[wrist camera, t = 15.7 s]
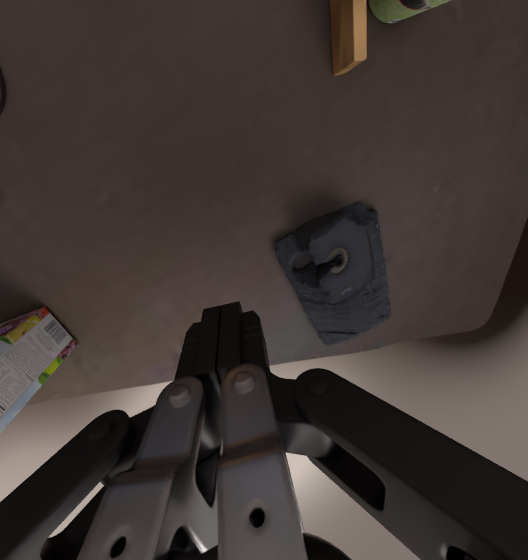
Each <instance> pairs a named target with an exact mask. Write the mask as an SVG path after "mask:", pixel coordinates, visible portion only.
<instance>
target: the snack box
mask: <svg viewBox="0 0 528 560" xmlns="http://www.w3.org/2000/svg"><path fill="white" fill-rule="evenodd" d="M77 344H78V343H77V342H76V341H75V340H74V339H73V338H72V337H71V336H70V335H69V334H68V333H67V332H66V330H65V329H64V328H63V327H62V326H61V325H60V323H59V322H58V321H57V320H56V319H55V318H54V316H53V315H52V314H51V313H50V312H49V311H48V310H47V309H46V308H45V307H41V308H38V309H36V310H33V311H31V312H28V313H26V314H23V315H21V316H18V317H16V318H13V319H11V320H8V321H6V322H3V323H1V324H0V433H1V432H2V431H3V430H4V429H5V428H6V426H7V425H8V424H9V423H10V422H11V421H12V419H13V418H14V417H15V416H16V415H17V413H18V412H19V411H20V410H21V409H22V408H23V407H24V405H25V404H26V403H27V402H28V401H29V400H30V399H31V397H32V396H33V395H34V394H35V393H36V392H37V391H38V389H39V388H40V387H41V386H42V385H43V384H44V382H45V381H46V380H47V379H48V378H49V377H50V375H51V374H52V373H53V372H54V371H55V370H56V369H57V367H58V366H59V365H60V364H61V363H62V361H63V360H64V359H65V358H66V357H67V356H68V355H69V354H70V352H71V351H72V350H73V349H74V348H75V346H76V345H77Z"/></svg>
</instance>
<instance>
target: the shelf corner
mask: <svg viewBox="0 0 528 560" xmlns="http://www.w3.org/2000/svg"><path fill="white" fill-rule="evenodd" d="M330 16H331V36H332V57H333V76H338V75H343V74H344V73H346V72H347V71H349V70H350V69H352V68H353V67H355V66H356V65H358V64H359V63H361V62H362V61H364V60H365V59H366V0H330Z"/></svg>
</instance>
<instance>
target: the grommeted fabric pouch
mask: <svg viewBox="0 0 528 560" xmlns="http://www.w3.org/2000/svg"><path fill="white" fill-rule="evenodd" d="M276 254H277V255H278V258H279V262H280V264H281V266H282V267H283V269H284V271H285V272H286V276H287V277H288V279H289V281H290V283H291V285H292V286H293V288H294V290H295V291H296V292H297V295H298V297H300V303H301V304H302V306H303V309H304V311H305V312H306V314H307V315H308V316H310V320H311V321H312V323H313V325H314V327H315V328H316V330H317V332H318V336H319V338H320V339H321V340H322V341H323V343H324V344H326V345H333V344H337V343H341V342H343V341H346V340H349V339H351V338H354V337H358V336H360V335H361V334H363V333H364V332H367V331H369V330H370V329H372V328H374V327H375V326H377V325H379V324H381V323H383V322H384V321H385V320H386V319H388V318H389V317H390V301H389V299H388V285H387V273H386V267H385V263H384V262H385V259H384V256H383V248H382V241H381V237H380V230H379V221H378V214H377V211H376V210H372V211H368V210H366V208H365V206H364V204H355V205H349V206H347V207H343V209H342V210H341V211H339V212H337V213H335V214H330V215H325V216H322V217H319V218H317V219H315V220H313V221H311V222H309V223H307V224H304V225H303V226H301V227H300V230H295V234H290V235H288V237H287V238H284V239H282V240H281V241H278V242H277V243H276ZM306 254H309V255H311V257H312V261H313V262H312V263H311V264H309V265H307V266H306V267H305V268H303V269H301V270H299V271H297V270H296V269H294V268H293V266H292V265H293V260H294V259H295V258H299V257H301V256H304V255H306Z"/></svg>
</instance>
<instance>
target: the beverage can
mask: <svg viewBox="0 0 528 560" xmlns="http://www.w3.org/2000/svg"><path fill="white" fill-rule="evenodd" d="M368 1H369V5H370V8H371V10H372V12H373V14H374V15H375V16H376V18H377V19H379V20H380V21H382V22H385V23H396V22H398V21H401V20H403V19H406V18H408V17H411V16H413V15H416V14H418V13H421V12H423V11H426V10H428V9H431V8H433V7H436V6H438V5H441V4H443V3H446V2H448V1H451V0H368Z"/></svg>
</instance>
